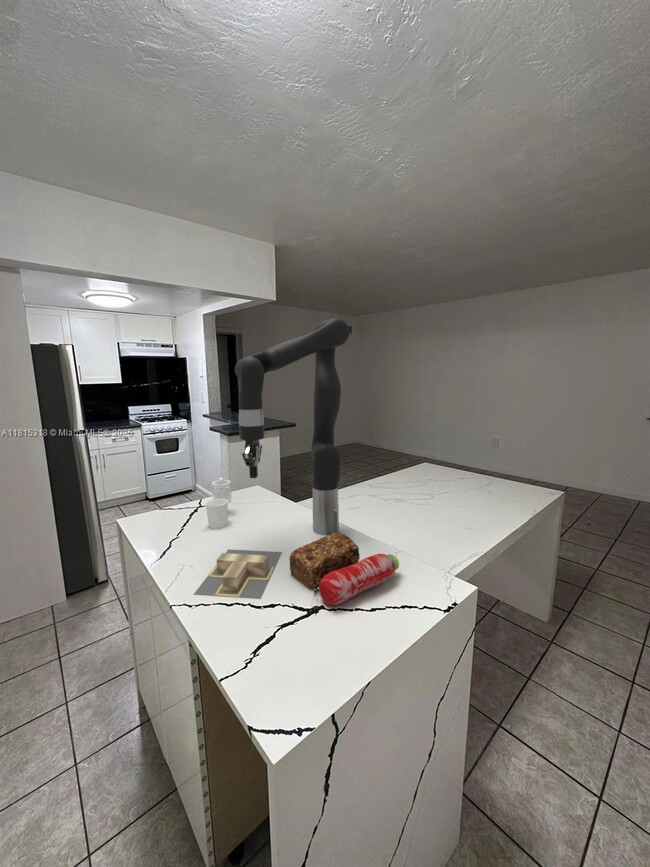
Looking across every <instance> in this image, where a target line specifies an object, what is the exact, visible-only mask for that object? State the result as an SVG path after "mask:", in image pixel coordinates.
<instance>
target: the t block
mask: <svg viewBox="0 0 650 867" xmlns="http://www.w3.org/2000/svg"><path fill="white" fill-rule="evenodd" d="M216 565H217V573H225V574H224V575H223V576H222V584H223V591H233V592H238V590H239V588H240V587H241V585H242V583H243V582H244V580H245V578H246V577H247V575H259V576H265V574H266V572H267V570H268V568H269V566H268V556H266V555H248V554H230V553H226V552H222V553H221V554H220V555H219V557H217V559H216Z"/></svg>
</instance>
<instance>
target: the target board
mask: <svg viewBox="0 0 650 867" xmlns="http://www.w3.org/2000/svg"><path fill="white" fill-rule="evenodd" d="M225 553H230V554H248V555H266V556H268V566H269V568H268V570H267V572H266V574H265V576H259V575H247V577H246V578H245V580H244V582H243V583H242V585H241V587H240V588H239V590H238V592H233V591H223V584H222V576H223V575H224V574H225V573H217V564H215V566H214V567H213V568H212V570H211V571H210V572H209V574H208V575H207V576H206V577H205V579H204V580H203V581H202V583H201V584H200V585H199V586H198V588H197V589H196V590H195V592H194V593H192V594H193V596H206V597H207V596H210V597H221V598H222V597H224V598H235V599H236V598H238V599H239V598H240V599H255V600H261V599H262V598H263V595H264V592H266V591H265V590H266V588H267V587H268V585H269V582H270V580H271V578H272V576H273V574H274V571H275V570H276V567H277V564H278V563H279V561H280V558H281V556H282V554H283V551H268V550H252V549H251V550H247V549H232V548H231V549H230V548H229V549H227V550H226V551H225Z"/></svg>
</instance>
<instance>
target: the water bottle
mask: <svg viewBox="0 0 650 867" xmlns="http://www.w3.org/2000/svg"><path fill="white" fill-rule="evenodd" d="M399 568H400V562H399V559H398V557H397V556H396V555H394V554H391V553H388V554H385V553H377V554H372V555H370V556H367V557H365V558H363V559H361V560H359V561H358V563H355V564H353V565H349V564H346V563H342V562H341V563H339V564H338V565H337V566H336V567H334V568H333V569H332V570H330V571H331V572H330V573H328V574H326V575H325V576H324V577H323V578H322V579H321V581H320V583H319V589H318V591H319V594H320V597H321V599H322V600H323V602H324V603H325V604H327V605H332V606H333V605H335V606H336V605H338V606H339V605H341V604H343V603H345V602H347V601H348V600H350V599H352V598H354V597H355V596H356V595H359V594H361V593H362V592H365V591H366V590H369V589H371V588H376V587H378V586H379V585H382V584H384V583H386V582H387V581H388V580H390V578H392V577H393V575H394V573H395V571H397V570H398V569H399Z"/></svg>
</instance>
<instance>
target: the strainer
mask: <svg viewBox="0 0 650 867" xmlns="http://www.w3.org/2000/svg"><path fill="white" fill-rule="evenodd" d="M211 486H212V498H213V499H226V500H227V501H228V504H230V503H232V491H231V490H232V486H231V480H228V479H223V477H219V480H218V479H217V480H215V481H213V482H212V485H211ZM213 499H212V500H213Z"/></svg>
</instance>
